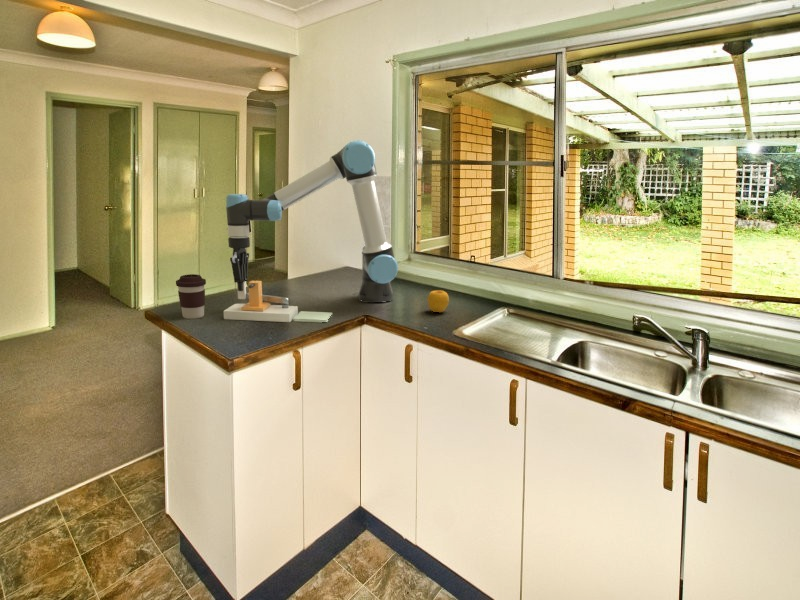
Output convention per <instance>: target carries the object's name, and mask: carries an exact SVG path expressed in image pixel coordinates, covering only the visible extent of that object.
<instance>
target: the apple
mask: <svg viewBox="0 0 800 600" xmlns="http://www.w3.org/2000/svg"><path fill="white" fill-rule="evenodd" d="M449 303H450V296H449V294H448V293H447V292H446V291H444V290H441V289H440V290H439V289H438V290H432V291H430V292H429V293H428V296H427V306H428V307H429V310H430V311H431V312H432V311H433V312H439V313H443V312H444V311H445V310H446V309H447V307H448V306H449ZM433 312H432V313H433Z"/></svg>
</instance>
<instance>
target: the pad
mask: <svg viewBox="0 0 800 600" xmlns="http://www.w3.org/2000/svg"><path fill="white" fill-rule="evenodd" d="M331 315H332V316H333V312H329V311H328V312H326V311H304V310H303V311H302V310H301V311H299V312H298V314H297V315H296V316H295V317H294V318H293V319H292V320H293V322H302V323H305V322H307V323H322V322H327V323H328V321H329V320H330V319H331V318H330V316H331ZM332 316H331V317H332ZM329 318H330V319H329ZM328 319H329V320H328Z"/></svg>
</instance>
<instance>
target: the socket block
mask: <svg viewBox="0 0 800 600" xmlns="http://www.w3.org/2000/svg"><path fill="white" fill-rule="evenodd" d="M245 304H246V303H237V302H236V303H234V304H232V305H231V306H229V307H228V308H226V309H224V310H223V319H224V320H234V321H235V320H236V321H237V320H238V321H239V320H240V321H256V322H257V321H259V322H279V323H280V322H281V323H290V322H292V321H293V320H294V319H293V318H294V317H295V316H297V315H298V314H299V306H297V305H289V304H282V303H281V305H278V304H277V305H276V304H270V306H269V307H268V308H266V309H265V310H264V311H253V310H241V307H242V306H244V305H245Z"/></svg>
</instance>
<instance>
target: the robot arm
mask: <svg viewBox="0 0 800 600" xmlns="http://www.w3.org/2000/svg"><path fill="white" fill-rule="evenodd" d="M375 163H376V154H375V151H374V149H373V148H372V146H370V144H368V143H367V142H366V141H363V140H353V141H349V143H347V144H345V146H343V148H341V149H340V150H339V151H337V153H335V154H333V155H332V156H330V157H329V160H328V161H327V162H325V163H324V164H321V165H320V166H318V167H316V168H314V169H313V170H311V171H309V172H307V173H306V174H304V175H302V176H301V177H299V178H297V179H296V180H294V181H292V182H290V183H289V184H287V185H285V186H284V187H282V188H280V189H278V190H277V191H274V192H273V193H271V194H270V195H268V196H267V197H264V198H262V199H249V198H248V195H247V194H244V193H229V194H227V196H226V198H225V199H226V207H225V209H226V222H227V227H226V230H227V236H229V237H228V238H227V240H228V247H229V248H230V249H232V257H230V259H229V262H230V263H231V267H232V275H233V282H234V283H236V287H237V300H246V292H247V287H246V285H247V284H246V282H249V279H248V278H249V258H250V253H249V252H247V249H248V248H250V246H251V241H250V240H251V239H250V234H251V233H250V221H251V222H252V221H258V222H259V221H261V222H262V221H264V222H265V221H266V222H267V221H268V222H276V221H281V220H282V219H283V218H282V216H283V214H282V212H284V211H285V210H286V209H288V208H290V207H292V206H294V205H295V204H297V203H298V202H301V201H302V200H304V199H305V198H307V197H309V196H310V195H313V194H314V193H316V192H318V191H320V190H322V189H323V188H325V187H326V186H328V185H330V184H332V183H333V182H335V181H337V180H338V179H340V180H344V179H346V182H347V183H349V184H350V185H351V187H352V192H353V195H354V196H353V197H354V201H355V206H356V210H357V215H358V218H359V222H360V223H359V224H360V227H361V232H362V236H363V237H362V238H363V241H364V245H363V247H362V252H361V254H362V257H361V258H362V264H361V265H362V268H361V269H362V270H361V271H362V272H361V275H362V276H361V279H362V280H361V283H360V285H359V286H360V287H359V290H358V292H357V300H358V299H360V300H362V301H361V302H363V301H369V302H382V301H390V300H392V299H393V300H394V293H393V288H392V286H391V282H392V281H393V280H394V279H395V278H396V277H397V274H398V272H399V271H398V270H399V264H398V262H397V260H396V259H395V254H394V250H393V246H392V244H391V243H389V242H388V239H387V236H386V230H385V226H384V222H383V221H384V220H383V216H382V212H381V208H380V202H379V197H378V192H377V188H376V183H375V182H376V181H375V180H376V177H378V174H377V173H378V172H377V168H376V164H375ZM360 300H359V301H360ZM393 300H392V301H393ZM390 302H391V301H390Z"/></svg>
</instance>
